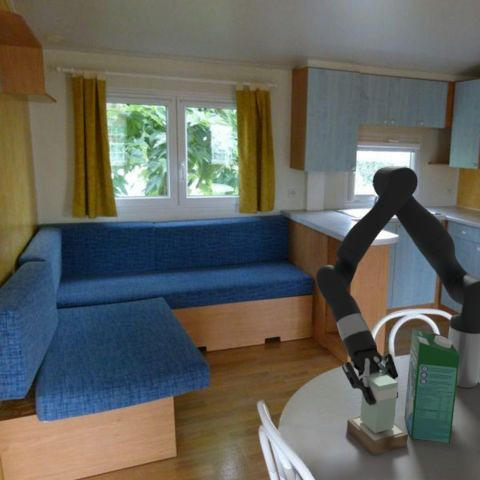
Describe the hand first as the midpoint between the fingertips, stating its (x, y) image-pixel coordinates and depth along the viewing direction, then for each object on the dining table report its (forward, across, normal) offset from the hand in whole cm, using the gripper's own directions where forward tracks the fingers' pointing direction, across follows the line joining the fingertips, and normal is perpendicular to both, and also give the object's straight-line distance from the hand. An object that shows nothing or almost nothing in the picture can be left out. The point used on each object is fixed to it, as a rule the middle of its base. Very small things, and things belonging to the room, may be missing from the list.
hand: (384, 401), depth 100 cm
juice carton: (+4, 0, +6) cm, 7 cm away
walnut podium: (+6, 0, +9) cm, 11 cm away
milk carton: (+8, +14, +8) cm, 18 cm away
